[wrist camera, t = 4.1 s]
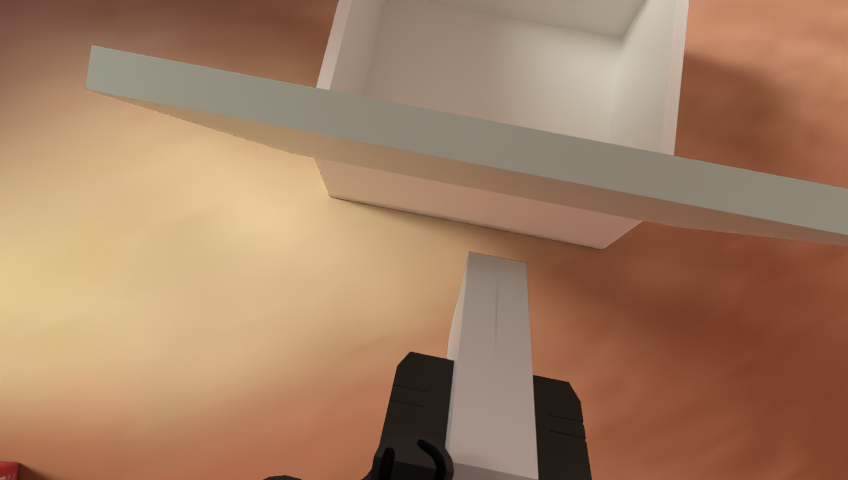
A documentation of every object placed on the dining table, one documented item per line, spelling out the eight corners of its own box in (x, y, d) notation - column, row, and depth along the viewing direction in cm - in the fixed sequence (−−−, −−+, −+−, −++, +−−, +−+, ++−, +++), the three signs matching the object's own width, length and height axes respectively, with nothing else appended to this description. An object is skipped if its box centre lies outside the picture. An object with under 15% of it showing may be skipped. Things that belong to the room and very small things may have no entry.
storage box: (602, 249, 34) (669, 202, 26) (329, 197, 35) (304, 132, 26) (628, 37, 38) (695, -69, 29) (380, -9, 38) (372, -128, 29)
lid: (678, 208, 25) (674, 226, 25) (294, 134, 26) (291, 153, 26) (1008, 218, 11) (997, 263, 11) (91, 44, 11) (85, 88, 11)
